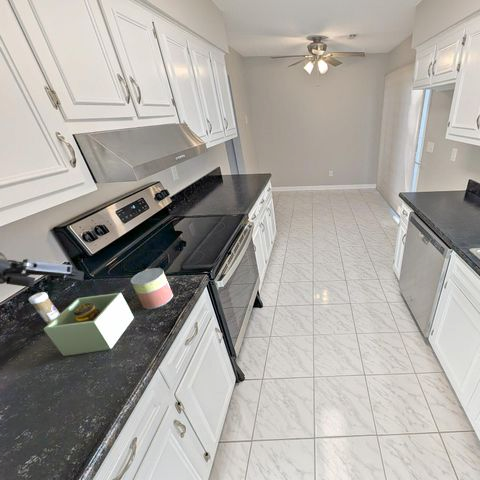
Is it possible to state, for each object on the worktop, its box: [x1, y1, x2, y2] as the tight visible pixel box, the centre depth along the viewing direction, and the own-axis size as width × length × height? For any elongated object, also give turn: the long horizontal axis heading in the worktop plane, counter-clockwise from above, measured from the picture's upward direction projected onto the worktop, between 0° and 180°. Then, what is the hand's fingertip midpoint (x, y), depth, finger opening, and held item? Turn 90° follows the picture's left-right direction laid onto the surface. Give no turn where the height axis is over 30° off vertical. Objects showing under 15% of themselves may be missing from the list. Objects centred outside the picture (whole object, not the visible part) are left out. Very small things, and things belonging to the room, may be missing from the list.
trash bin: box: [43, 292, 135, 357], centre depth 87 cm, size 15×15×12 cm
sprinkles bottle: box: [28, 291, 61, 325], centre depth 93 cm, size 5×5×14 cm
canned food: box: [130, 267, 174, 310], centre depth 103 cm, size 11×11×12 cm
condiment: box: [73, 303, 100, 323], centre depth 87 cm, size 7×8×12 cm
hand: (58, 279), depth 76 cm, fingers open, 13 cm apart
